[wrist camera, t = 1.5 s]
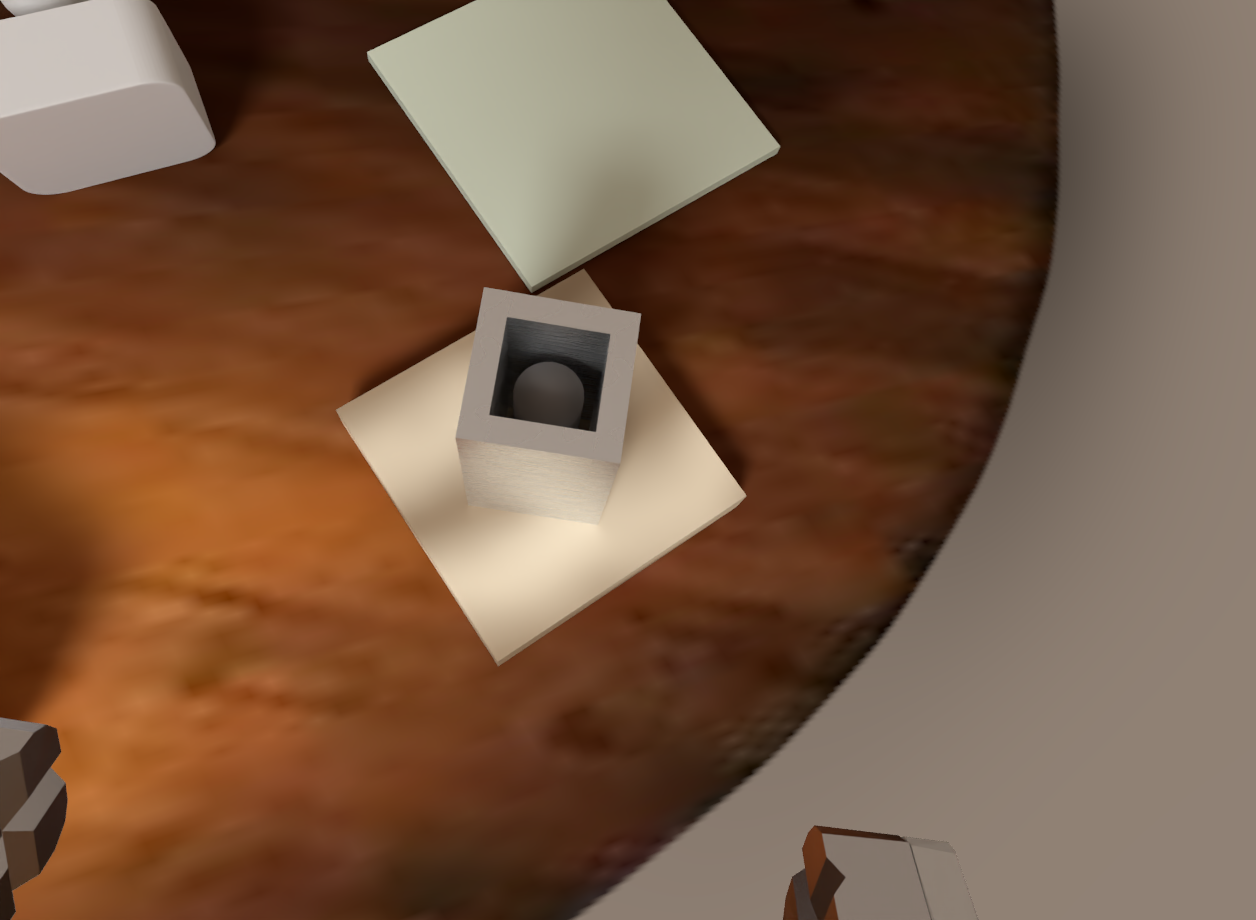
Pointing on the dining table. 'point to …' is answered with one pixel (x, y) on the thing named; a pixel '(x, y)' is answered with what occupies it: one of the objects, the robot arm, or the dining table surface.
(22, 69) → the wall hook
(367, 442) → the peg stand
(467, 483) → the steel sleeve
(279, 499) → the dining table surface
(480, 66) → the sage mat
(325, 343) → the dining table surface
